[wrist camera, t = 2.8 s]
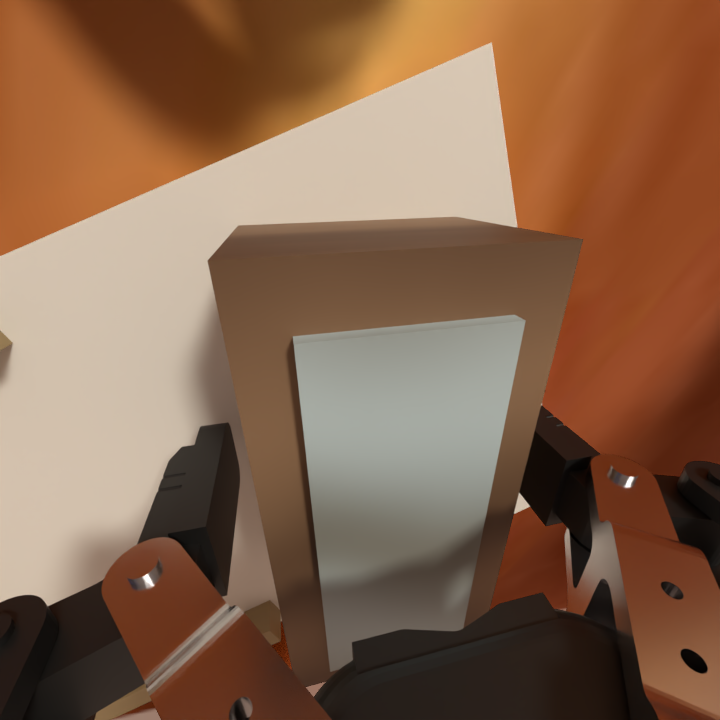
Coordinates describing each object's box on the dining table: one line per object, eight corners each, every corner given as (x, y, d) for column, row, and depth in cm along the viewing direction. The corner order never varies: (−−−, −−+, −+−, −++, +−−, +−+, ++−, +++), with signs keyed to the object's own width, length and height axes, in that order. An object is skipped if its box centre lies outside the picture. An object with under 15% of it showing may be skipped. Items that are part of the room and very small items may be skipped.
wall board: (467, 58, 9) (523, 21, 7) (537, 476, 17) (573, 516, 15) (-406, 438, 9) (-618, 517, 7) (87, 683, 17) (61, 753, 15)
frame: (238, 225, 9) (203, 264, 4) (456, 216, 10) (598, 241, 6) (290, 545, 14) (296, 703, 10) (427, 517, 15) (487, 649, 11)
